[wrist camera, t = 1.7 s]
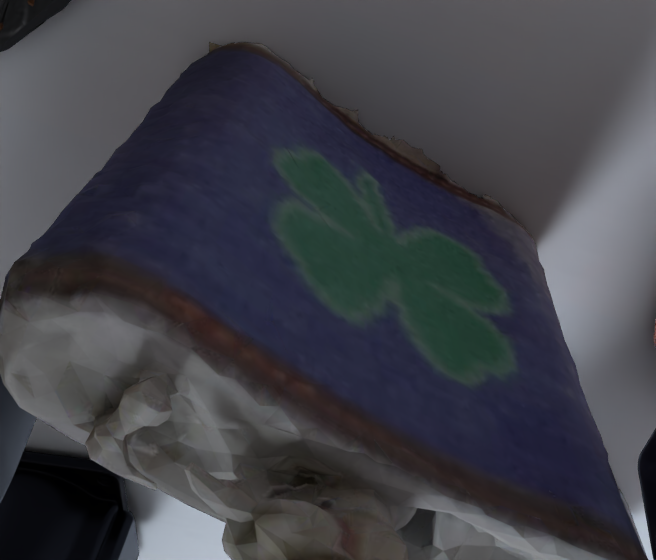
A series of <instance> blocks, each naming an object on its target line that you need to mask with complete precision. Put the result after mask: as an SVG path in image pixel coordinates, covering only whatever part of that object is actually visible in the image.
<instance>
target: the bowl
mask: <svg viewBox="0 0 656 560" xmlns="http://www.w3.org/2000/svg"><path fill="white" fill-rule="evenodd" d="M653 340H654V345H655V348H656V320H655V329H654V338H653Z"/></svg>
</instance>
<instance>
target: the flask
mask: <svg viewBox="0 0 656 560" xmlns="http://www.w3.org/2000/svg"><path fill="white" fill-rule="evenodd" d="M234 43H235V42H234ZM234 43H230V44H227V45H224V46H221V45H218V44H214V43H211V42H209V52H210V53H208V54H207V55H206V56H204V57H203V58H201V59H199V60H197V61H195V62H193V63H192V64H191V65H190V66H189V67H188V68H187V69H186V70H185V71H184V72H183V73H181V75H180V78H179V79H178V80H177V81H176V82H175V83H174V84H173V85H172V86H171V87H170V88H169V89H168V90H167V91H166V93H165V95H164V96H163V98H162V99H161V101H160V102H158V103H157V104H156V105H154V106H153V107H151V108H150V110H149V112H148V113H147V115H146V117H145V119H144V121H143V122H142V123H141V124H140V125H139V126H138V128H137V129H136V130H135V131H134V132H133V133H132V135H131V136H130V137H129V138H128V140H127V141H126V142H125V143H123V144H122V145H121V146H120V147H119V148H117V149H116V151H115V152H114V154H113V155H112V156H111V158H110V159H109V161H108V162H107V163H106V164H105V166H104V167H103V169H102V170H101V171H99V172H98V173H96V174H95V175H94V177H93V178H92V179H91V180H90V181H89V182H88V183H87V184H86V186H85V187H84V188H83V189H82V190H81V191H80V192H79V194H77V195H76V196H75V197H74V198H73V200H72V201H71V202H70V203H69V204H68V205H67V206H66V208H65V209H64V210H63V211H62V212H61V213H60V215H59V216H58V217H57V219H56V220H55V221H54V223H53V224H52V225H51V227H50V228H49V229H48V230H47V231H46V232H45V234H44V235H43V236H41V237H40V238H39V239H37V240H36V241H35V242H33V243H32V244H31V247H30V249H29V250H28V251H27V252H26V253H25V254H24V255H23V256H21V257H20V258H19V259H18V260H17V261H15V262H14V264H13V265H12V267H11V269H10V270H9V272H8V274H7V275H6V277H5V282H4V287H3V291H2V296H1V299H0V375H1V378H2V382H3V384H4V386H5V387H6V388H7V390H8V391H9V393H10V394H11V396H12V397H13V398H14V400H15V401H16V403H17V404H18V406H19V407H20V408H22V409H23V410H25V411H27V412H28V413H30V414H32V415H33V416H35V417H37V418H38V419H40V420H42V421H43V422H45V423H46V424H48V425H50V426H51V427H53V428H55V429H56V430H58V431H60V432H61V433H63V434H64V435H66V436H67V437H69V438H71V439H73V440H74V441H76V442H78V443H80V444H83V445H85V446H86V448H87V451H88V454H89V458H90V459H91V460H93V461H95V462H96V463H98V464H100V465H102V466H103V467H105V468H107V469H108V470H110V471H112V472H113V473H115V474H117V475H120V476H122V477H124V478H127V479H129V480H131V481H134V482H136V483H138V484H141V485H143V486H146V487H148V488H150V489H153V490H157V488H158V489H159V490H161V491H163V492H165V493H167V494H169V495H170V496H172V497H174V498H176V499H178V500H180V501H181V502H183V503H185V504H187V505H189V506H191V507H193V508H195V509H197V510H200V511H202V512H204V513H206V514H208V515H210V516H212V517H214V518H217V519H219V520H221V521H223V522H225V523H226V525H225V529H224V533H223V537H222V543H223V547H224V551H225V552H226V553H227V554H228V556H229V557H230V558H231V559H232V560H648V558H647V556H646V554H645V552H644V550H643V548H642V546H641V544H640V541H639V539H638V536H637V534H636V532H635V529H634V527H633V525H632V522H631V520H630V518H629V515H628V513H627V511H626V508H625V506H624V504H623V501H622V499H621V496H620V493H619V490H618V487H617V484H616V481H615V479H614V476H613V473H612V470H611V468H610V465H609V462H608V453H607V451H606V449H605V447H604V445H603V441H602V437H601V435H600V433H599V431H598V428H597V426H596V424H595V421H594V419H593V417H592V414H591V412H590V410H589V407H588V404H587V401H586V399H585V396H584V393H583V391H582V388H581V386H580V382H579V378H578V373H577V369H576V365H575V363H574V360H573V358H572V356H571V354H570V351H569V349H568V347H567V344H566V342H565V340H564V337H563V333H562V330H561V327H560V323H559V320H558V317H557V314H556V312H555V308H554V305H553V301H552V298H551V294H550V291H549V288H548V286H547V282H546V278H545V273H544V269H543V267H542V265H541V263H540V262H539V258H538V253H537V248H536V243H535V242H534V241H533V239H532V235H531V234H530V233H529V232H528V231H526V229H525V228H524V227H523V226H522V225H521V224H519V223H518V222H517V221H516V219H515V218H514V217H513V216H512V215H511V214H509V213H508V212H507V211H505V210H504V209H503V207H501V205H500V204H499V202H498V201H497V200H494V199H491V196H488V195H486V194H485V195H484V196H483V199H482V198H477V195H474V194H471V193H468V192H467V191H466V190H465V189H464V188H463V187H461V186H459V185H458V184H457V183H456V182H455V181H450V179H449V177H448V176H447V174H443V173H442V171H440V166H439V165H438V164H436V163H435V162H434V161H432V160H430V159H428V158H427V157H426V156H425V155H424V154H423V151H422V149H416V148H413V147H411V146H410V145H408V144H407V143H406V142H405V141H404V140H397V139H395V138H394V136H393V138H392V139H391V140H389V139H388V137H386V136H383V137H382V136H379V135H376V134H374V135H372V134H371V133H370V132H369V131H368V132H367V130H366V129H365V128H364V127H363V126H362V125H360V124H359V123H358V122H359V119H358V110H355V111H350V110H348V109H347V108H346V109H344V108H341V107H338V106H333V105H332V104H331V103H329V102H328V101H327V100H325V99H324V98H322V96H321V95H320V93H319V92H318V90H317V89H316V87H315V86H314V85H313V82H314V80H313V79H312V78H311V79H310V80H308V79H306V78H305V77H304V76H302V75H301V74H300V73H299V72H297V71H295V70H294V69H293V68H292V67H291V65H290V64H289V63H288V62H286V61H284V60H282V59H281V58H279V57H278V56H276V55H275V54H273V53H272V51H270V50H269V48H267V47H266V46H264V45H263V44H259V43H248V42H239V43H235V44H234Z"/></svg>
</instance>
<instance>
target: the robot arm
mask: <svg viewBox="0 0 656 560" xmlns="http://www.w3.org/2000/svg"><path fill="white" fill-rule="evenodd" d="M36 418H37V417H35V416H33V415H32V414H30V413H28V412H27V411H25V410H23V409H22V408H20V407H19V406H18V404H17V403H16V401H15V400H14V398H13V397H12V396H11V394H10V393H9V391H8V390H7V388H6V387H5V386H4V384H3V382H2V378H1V375H0V560H137V559H138V556H139V548H138V540H137V533H136V525H135V518H134V516H133V515H132V513H131V511H128V504H127V496H126V489H125V482H124V477H122V476H120V475H117V474H115V473H113V472H112V471H110V470H108V469H107V468H105V467H103V466H102V465H100V464H98V463H96V462H95V461H93V460H87V459H80V458H72V457H65V456H58V455H50V454H43V453H35V452H28V451H24V448H25V446H26V443H27V441H28V438H29V436H30V433H31V431H32V428H33V426H34V423H35V421H36ZM638 474H639V480H640V486H641V491H642V497H643V503H644V508H645V514H646V520H647V526H648V531H649V537H650V543H651V548H652V554H653V559H654V560H656V428H655V430H654V432H653V433H652V435H651V437H650V438H649V440H648V441H647V443H646V445H645V446H644V448H643V450H642V451H641V453H640V455H639V459H638Z"/></svg>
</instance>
